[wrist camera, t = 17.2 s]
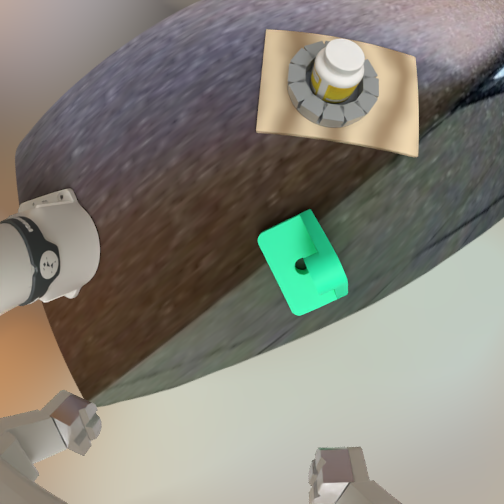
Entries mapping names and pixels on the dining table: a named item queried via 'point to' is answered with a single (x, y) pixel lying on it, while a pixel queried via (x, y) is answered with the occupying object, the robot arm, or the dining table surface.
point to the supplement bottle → (337, 71)
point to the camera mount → (315, 257)
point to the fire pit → (317, 108)
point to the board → (361, 132)
